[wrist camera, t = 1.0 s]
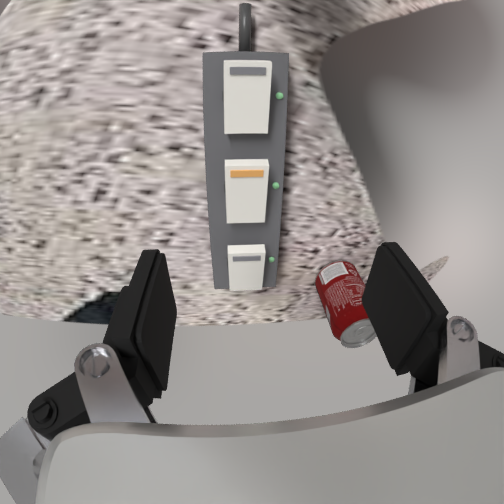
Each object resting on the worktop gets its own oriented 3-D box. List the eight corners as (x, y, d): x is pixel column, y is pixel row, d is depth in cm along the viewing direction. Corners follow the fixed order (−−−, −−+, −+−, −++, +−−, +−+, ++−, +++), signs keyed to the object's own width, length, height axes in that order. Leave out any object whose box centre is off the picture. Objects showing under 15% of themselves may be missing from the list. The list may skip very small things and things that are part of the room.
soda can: (311, 264, 40) (334, 326, 31) (353, 252, 40) (387, 309, 30) (316, 296, 44) (337, 356, 34) (355, 284, 44) (383, 341, 34)
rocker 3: (227, 245, 30) (227, 254, 30) (264, 244, 31) (265, 253, 30) (229, 283, 36) (229, 291, 35) (260, 281, 36) (261, 290, 35)
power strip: (206, 9, 21) (203, -3, 17) (282, 10, 21) (290, -1, 17) (215, 270, 40) (214, 291, 36) (271, 268, 40) (276, 289, 36)
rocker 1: (223, 60, 20) (223, 62, 19) (270, 60, 20) (272, 63, 19) (224, 128, 25) (224, 134, 24) (266, 128, 25) (267, 134, 24)
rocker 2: (224, 159, 25) (224, 166, 24) (267, 159, 25) (269, 166, 25) (226, 215, 30) (226, 224, 29) (263, 214, 31) (264, 223, 30)
